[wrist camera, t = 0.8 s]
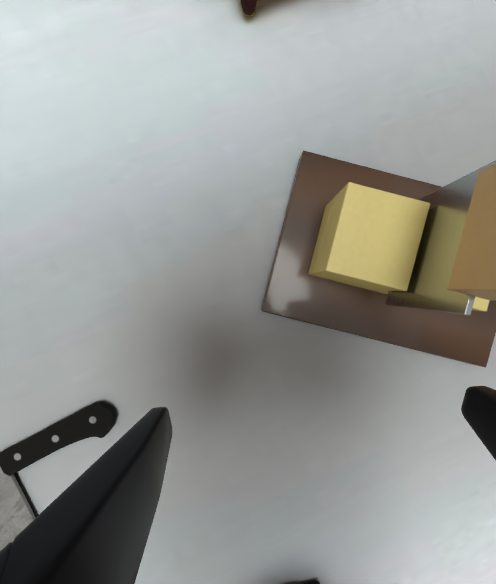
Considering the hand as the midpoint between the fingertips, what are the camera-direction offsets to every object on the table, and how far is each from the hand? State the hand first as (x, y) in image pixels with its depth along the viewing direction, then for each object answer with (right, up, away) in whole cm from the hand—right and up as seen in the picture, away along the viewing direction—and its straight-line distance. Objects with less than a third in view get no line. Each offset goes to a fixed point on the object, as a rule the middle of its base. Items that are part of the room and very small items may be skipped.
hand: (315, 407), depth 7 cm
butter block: (+8, +7, +13) cm, 17 cm away
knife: (+10, +6, +11) cm, 16 cm away
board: (+11, +6, +14) cm, 18 cm away
